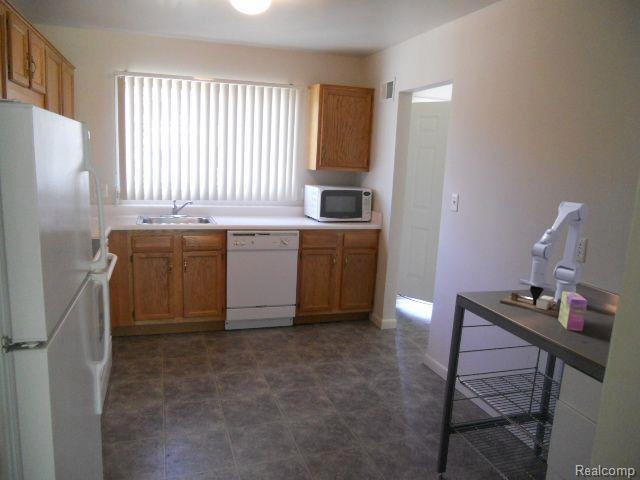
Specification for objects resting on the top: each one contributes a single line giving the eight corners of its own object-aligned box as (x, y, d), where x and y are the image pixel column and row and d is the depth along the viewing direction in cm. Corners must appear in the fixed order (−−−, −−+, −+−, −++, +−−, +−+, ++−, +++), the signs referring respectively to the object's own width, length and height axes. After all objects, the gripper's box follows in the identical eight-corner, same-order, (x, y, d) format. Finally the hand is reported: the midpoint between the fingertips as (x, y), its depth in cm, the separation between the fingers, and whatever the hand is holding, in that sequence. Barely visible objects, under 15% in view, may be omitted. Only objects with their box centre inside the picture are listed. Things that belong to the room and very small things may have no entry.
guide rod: (515, 296, 205) (515, 294, 205) (562, 307, 193) (562, 304, 192) (514, 297, 204) (514, 294, 204) (561, 307, 192) (561, 305, 191)
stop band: (550, 306, 196) (551, 299, 196) (553, 306, 195) (554, 300, 195) (548, 307, 194) (549, 300, 194) (551, 308, 193) (552, 301, 193)
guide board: (509, 297, 212) (510, 288, 211) (573, 312, 195) (574, 301, 194) (499, 302, 204) (500, 292, 203) (565, 318, 186) (566, 307, 186)
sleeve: (542, 303, 201) (543, 295, 201) (552, 305, 199) (554, 297, 198) (535, 307, 195) (536, 299, 194) (546, 309, 192) (547, 301, 191)
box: (583, 331, 172) (587, 300, 170) (566, 329, 173) (570, 298, 171) (574, 322, 182) (578, 292, 180) (558, 320, 183) (562, 291, 181)
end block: (559, 309, 195) (560, 297, 194) (566, 310, 193) (568, 299, 192) (556, 311, 192) (557, 299, 191) (564, 312, 190) (565, 300, 189)
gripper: (517, 270, 196) (513, 302, 198) (555, 277, 186) (550, 310, 188) (523, 268, 201) (519, 299, 203) (560, 274, 191) (555, 307, 194)
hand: (534, 304), depth 196 cm, fingers closed
